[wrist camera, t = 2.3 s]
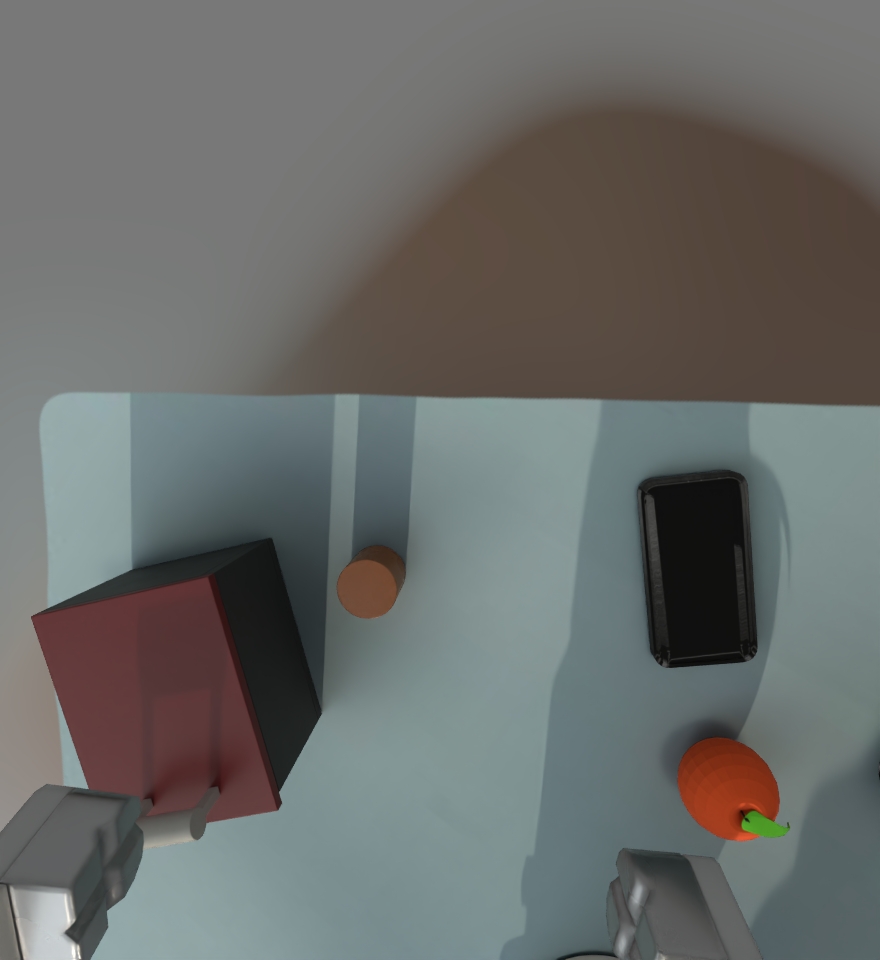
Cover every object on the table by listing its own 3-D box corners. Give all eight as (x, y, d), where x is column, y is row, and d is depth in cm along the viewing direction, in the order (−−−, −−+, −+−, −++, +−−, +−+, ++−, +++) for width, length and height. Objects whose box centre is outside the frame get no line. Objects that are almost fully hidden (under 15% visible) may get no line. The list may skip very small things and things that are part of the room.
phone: (655, 669, 45) (639, 481, 43) (651, 662, 46) (635, 480, 44) (759, 661, 44) (748, 470, 42) (753, 654, 45) (741, 468, 43)
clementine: (781, 747, 46) (834, 809, 39) (739, 816, 47) (783, 889, 40) (690, 705, 46) (726, 759, 39) (650, 775, 47) (679, 840, 40)
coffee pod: (397, 606, 47) (387, 626, 43) (344, 589, 47) (330, 608, 43) (412, 554, 46) (404, 570, 42) (358, 538, 47) (345, 552, 42)
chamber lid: (282, 802, 39) (254, 857, 34) (113, 832, 41) (63, 888, 36) (214, 572, 37) (174, 597, 33) (39, 612, 39) (-24, 641, 34)
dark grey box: (321, 713, 49) (279, 791, 39) (184, 740, 50) (110, 821, 41) (271, 537, 47) (214, 572, 37) (131, 570, 49) (39, 612, 39)
